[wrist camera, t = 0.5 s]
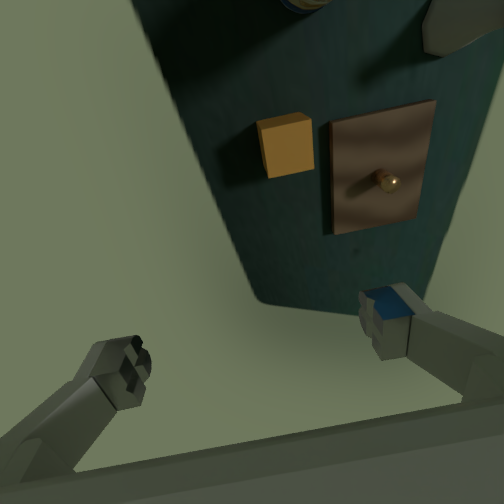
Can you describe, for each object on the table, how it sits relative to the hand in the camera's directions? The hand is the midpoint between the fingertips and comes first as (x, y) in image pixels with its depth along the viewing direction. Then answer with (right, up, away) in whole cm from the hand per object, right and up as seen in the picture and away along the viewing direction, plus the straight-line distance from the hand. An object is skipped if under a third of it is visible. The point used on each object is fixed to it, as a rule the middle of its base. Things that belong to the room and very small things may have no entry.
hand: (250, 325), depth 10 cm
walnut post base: (+19, +15, +33) cm, 41 cm away
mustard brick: (+4, +19, +29) cm, 35 cm away
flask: (+24, +31, +23) cm, 45 cm away
